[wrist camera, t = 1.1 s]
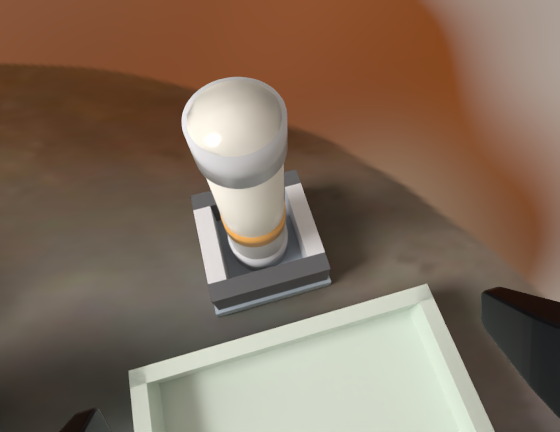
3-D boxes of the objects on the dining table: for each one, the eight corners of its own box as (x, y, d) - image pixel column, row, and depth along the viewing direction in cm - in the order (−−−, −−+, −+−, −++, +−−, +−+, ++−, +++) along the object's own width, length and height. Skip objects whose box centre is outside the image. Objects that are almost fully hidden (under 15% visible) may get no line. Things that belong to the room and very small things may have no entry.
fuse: (299, 246, 23) (309, 119, 12) (256, 283, 22) (225, 181, 11) (263, 208, 24) (242, 62, 13) (220, 242, 23) (161, 113, 12)
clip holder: (329, 285, 23) (335, 271, 20) (218, 316, 22) (208, 307, 19) (297, 189, 26) (298, 166, 23) (197, 215, 25) (186, 193, 22)
